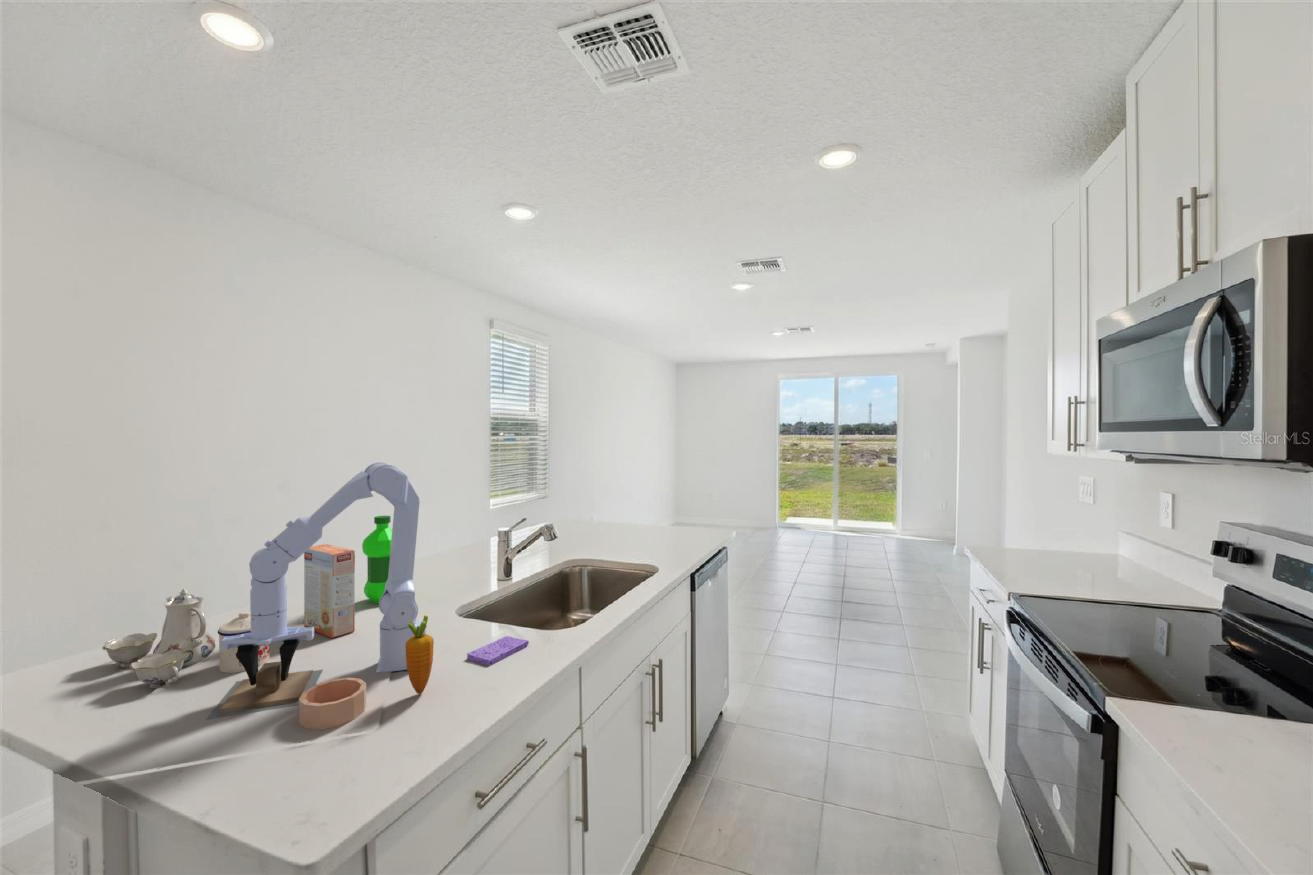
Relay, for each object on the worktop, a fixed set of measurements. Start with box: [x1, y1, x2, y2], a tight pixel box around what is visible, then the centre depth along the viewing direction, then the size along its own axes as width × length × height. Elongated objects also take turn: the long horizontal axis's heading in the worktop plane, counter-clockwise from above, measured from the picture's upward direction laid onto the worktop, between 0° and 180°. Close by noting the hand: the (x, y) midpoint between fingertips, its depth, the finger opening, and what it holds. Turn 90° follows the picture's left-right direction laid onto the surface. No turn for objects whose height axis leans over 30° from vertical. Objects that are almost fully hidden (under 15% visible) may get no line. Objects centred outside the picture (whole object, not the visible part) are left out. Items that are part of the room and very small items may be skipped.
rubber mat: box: [205, 669, 324, 721], centre depth 104 cm, size 15×15×1 cm
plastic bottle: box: [361, 515, 392, 604], centre depth 160 cm, size 10×10×25 cm
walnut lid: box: [219, 660, 314, 714], centre depth 103 cm, size 12×12×5 cm
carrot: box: [406, 615, 434, 695], centre depth 104 cm, size 5×5×15 cm
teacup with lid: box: [217, 610, 271, 674], centre depth 117 cm, size 12×9×12 cm
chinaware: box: [101, 588, 216, 689], centre depth 115 cm, size 28×17×17 cm, turn 64°
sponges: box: [466, 635, 530, 667], centre depth 124 cm, size 7×13×2 cm, turn 152°
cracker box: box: [303, 543, 356, 639], centre depth 136 cm, size 14×6×21 cm, turn 58°
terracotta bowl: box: [298, 677, 367, 730], centre depth 96 cm, size 10×10×4 cm
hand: (269, 680), depth 103 cm, fingers open, 4 cm apart
